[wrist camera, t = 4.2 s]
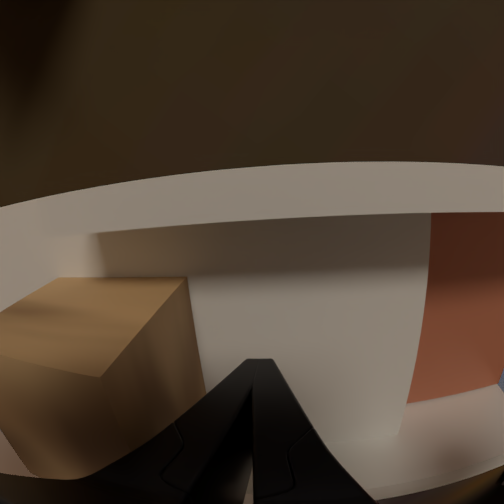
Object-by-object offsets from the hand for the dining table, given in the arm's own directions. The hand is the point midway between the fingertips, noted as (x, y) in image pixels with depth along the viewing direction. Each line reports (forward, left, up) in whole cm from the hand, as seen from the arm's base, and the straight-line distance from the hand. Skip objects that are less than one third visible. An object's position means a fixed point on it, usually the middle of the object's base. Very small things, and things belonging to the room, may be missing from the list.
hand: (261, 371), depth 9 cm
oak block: (0, +5, -1) cm, 5 cm away
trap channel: (0, +2, -3) cm, 4 cm away
